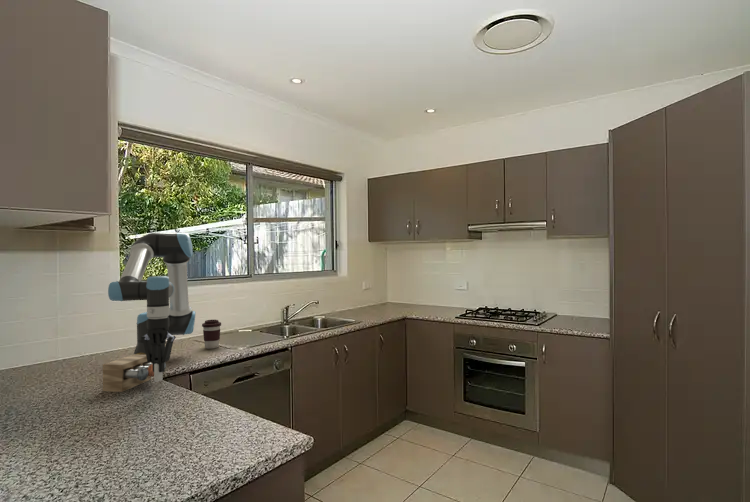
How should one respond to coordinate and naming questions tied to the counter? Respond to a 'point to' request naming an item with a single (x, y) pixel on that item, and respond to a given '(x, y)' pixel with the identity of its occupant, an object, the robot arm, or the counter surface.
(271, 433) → the counter surface
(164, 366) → the plug
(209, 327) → the coffee cup
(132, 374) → the plug
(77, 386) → the counter surface
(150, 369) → the plug rust
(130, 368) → the block
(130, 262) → the robot arm
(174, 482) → the counter surface
